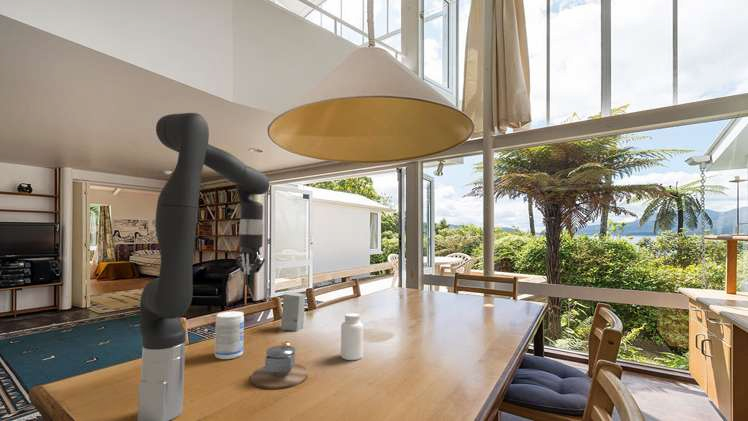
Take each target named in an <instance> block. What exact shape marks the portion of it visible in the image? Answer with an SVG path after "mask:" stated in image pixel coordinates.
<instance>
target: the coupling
mask: <svg viewBox="0 0 748 421" xmlns="http://www.w3.org/2000/svg"><path fill="white" fill-rule="evenodd" d="M265 352H266V356H265V358H264V366H265V372H291V370H292V367H293V365H294V364H296V363H295V362H296V348H295V347H293V346H291V342H290V341H283V342H281V345H275V346H271V347H269V348H267V349H266V351H265Z"/></svg>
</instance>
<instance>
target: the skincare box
mask: <svg viewBox="0 0 748 421" xmlns="http://www.w3.org/2000/svg"><path fill="white" fill-rule="evenodd" d="M282 299H283V301H282V310H281V311H282V312H281V320H280V322H281V323H280V329H281V330H283V331H293V332H298V331H300V330H302V329H303V328H304V319H305V307H306V294H305V293H299V292H287V293H284V294H283V298H282Z"/></svg>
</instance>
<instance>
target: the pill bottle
mask: <svg viewBox="0 0 748 421" xmlns="http://www.w3.org/2000/svg"><path fill="white" fill-rule="evenodd" d="M360 319H361V316H360V313H346V314H344V322H342V323H341V326H340V328H341V329H340V333H341V334H340V358H342V359H344V360H348V361H356V360H360V359H362V358H363V356H364V355H363V354H364V325H363V323H362V322H361V321H360Z"/></svg>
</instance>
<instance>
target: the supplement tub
mask: <svg viewBox="0 0 748 421" xmlns="http://www.w3.org/2000/svg"><path fill="white" fill-rule="evenodd" d="M244 314H245V313H244V312H243V311H235V310H233V311H224V312H223V311H222V312H219V313H217V314H216V317H215V327H214V328H215V330H214V331H215V334H214V339H215V340H214V357H215V358H217V359H219V360H231V359H236V358H239V357H241V356H242V355H243V353H244V339H245V338H244V337H245V336H244V334H245V316H244Z"/></svg>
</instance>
